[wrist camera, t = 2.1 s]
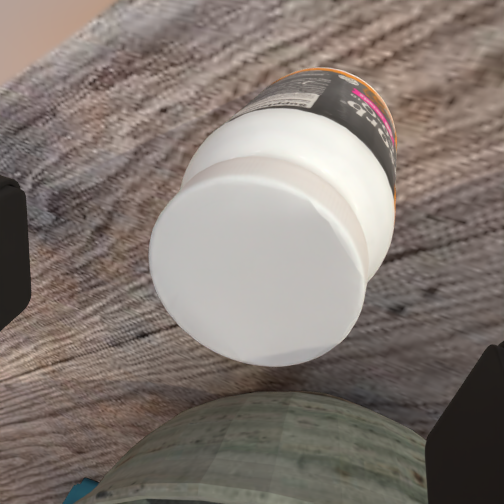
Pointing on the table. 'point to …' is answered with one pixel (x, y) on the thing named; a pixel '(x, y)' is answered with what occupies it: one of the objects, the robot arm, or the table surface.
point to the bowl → (271, 456)
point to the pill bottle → (281, 221)
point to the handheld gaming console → (80, 491)
